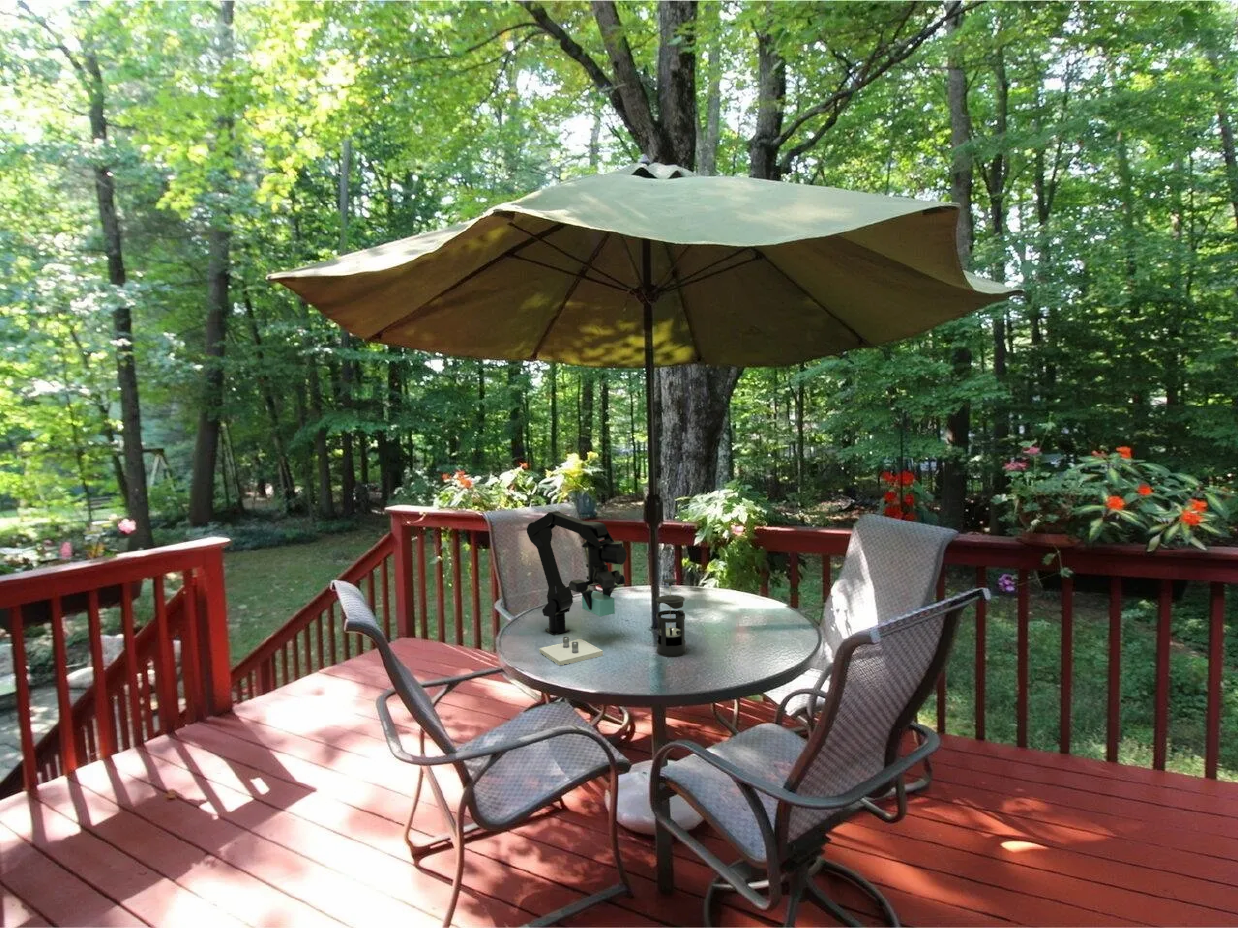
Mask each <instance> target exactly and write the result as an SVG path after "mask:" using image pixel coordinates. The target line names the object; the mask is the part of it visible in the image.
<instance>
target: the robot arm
mask: <svg viewBox="0 0 1238 928" xmlns="http://www.w3.org/2000/svg"><path fill="white" fill-rule="evenodd" d="M556 527H560V528H562V529H565V530H569V531H570V532H574V533H576V534H578V535H579V536H580V538H581V539H583V540H585V542H584V543H583V544H582V545H581V547H582V548H587V563H586V564H585V567H586V568H588V569H587V570H588V575H587V576H586V580H582V579H581V578H578V579H574V580H570V582H569V583H568V586H566V585H565V584H564V583H563V582H562V577H561V574H560V570H559V568H558V564H557V561H556V558H555V557H556V556H555V554H554V551H553V547H552V539H553V531H552V530H553V529H555V528H556ZM526 533H527V536H528V539H529V540H530V542H531V543H532V545H533V546H535V547H536V549H537V552H538V555H539V559H540V562H541V566H542V570H543V573H544V576H545V580H546V583H547V587H548V589H547V595H546V598H547V599H546V600H547V604H546V605H545V606H544V607H543V608H542V609H541V612H542V614H543V616H544V617H548V628H545V629H544V630H545V632H547V633H549V634H550V635H553V636H555V635H558V634H564V633H568V632H570V629H569V628H567V627H566V613H569V612H570V611H571V607H572V605H573V604H574V600H573V598H574V596H573V593H572V592H575V593H581V596H582V595H583V597H584V599H585V601H586V603H587V605H588V608H589V609H590V610H592V597H591V594H592V592H594V591H593V590H592V589H591V587H595V586H600V588H602V594H605V595H607V596H610V597H612V596H611V595H612V593H613V591H614V590H615V589H617V588H618V587H619V585H624V584H626V577H625V576H624V574H622V573H621V572H620V571H619V570H612V571H609V570H610V569H609V566H608V564H611V565H612V564H614V565H621V566H622V565H623V564H624V563H625V562H626V560H627V551H626V548H625V547H624V546H623V543H622V542H615V540H614V538H613V537H612V535H611V534H610V531H609V530H608V528H607V525H606V524H605V523H603V522H598V521H585V520H582V519H579V518H578V517H577V518H576V517H574V516H571V515H568V514H565V513H562V512H560V511H559V510H555V511H550V512H547V513H546V514H545V515H544V516H542V517H540V518H539V519H537V520H535V521H532V522H529V524H528V525H527V527H526Z"/></svg>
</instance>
